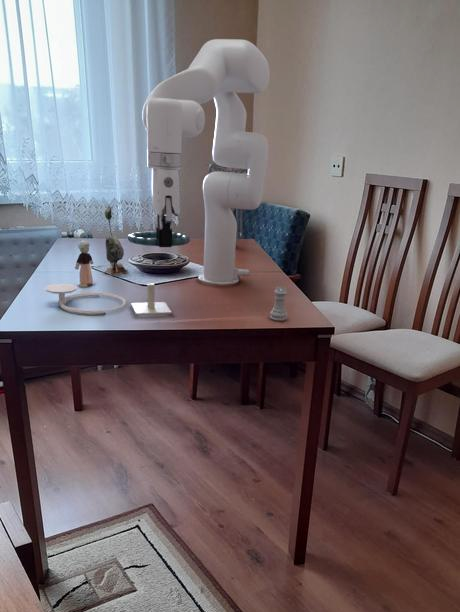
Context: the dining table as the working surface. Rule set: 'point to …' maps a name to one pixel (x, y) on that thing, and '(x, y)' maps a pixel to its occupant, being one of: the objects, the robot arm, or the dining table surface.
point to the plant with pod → (114, 251)
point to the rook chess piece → (279, 305)
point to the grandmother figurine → (84, 264)
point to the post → (151, 304)
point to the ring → (143, 239)
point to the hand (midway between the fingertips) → (164, 245)
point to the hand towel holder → (70, 288)
